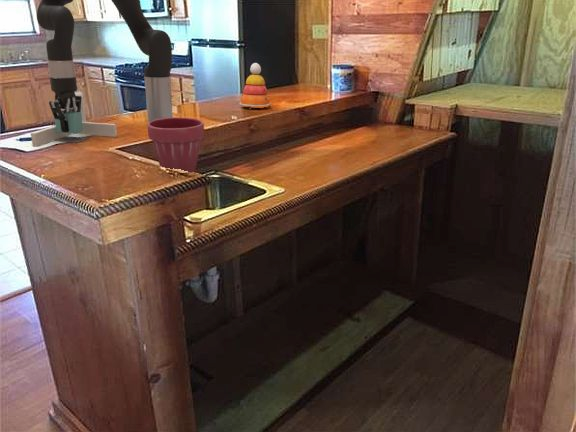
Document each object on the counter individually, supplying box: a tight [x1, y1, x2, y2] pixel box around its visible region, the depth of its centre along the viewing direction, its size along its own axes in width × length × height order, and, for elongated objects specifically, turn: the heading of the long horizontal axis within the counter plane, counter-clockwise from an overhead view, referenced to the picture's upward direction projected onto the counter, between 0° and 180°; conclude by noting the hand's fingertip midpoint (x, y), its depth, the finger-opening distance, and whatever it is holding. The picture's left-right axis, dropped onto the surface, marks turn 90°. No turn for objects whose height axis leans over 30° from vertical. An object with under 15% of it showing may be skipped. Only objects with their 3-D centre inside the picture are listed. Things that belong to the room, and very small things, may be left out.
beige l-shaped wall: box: [30, 121, 118, 147], centre depth 160 cm, size 20×17×4 cm
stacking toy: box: [239, 62, 272, 107], centre depth 224 cm, size 14×14×20 cm
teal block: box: [53, 111, 83, 133], centre depth 160 cm, size 7×4×6 cm, turn 79°
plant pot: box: [147, 116, 205, 173], centre depth 132 cm, size 14×14×13 cm
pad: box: [53, 135, 90, 144], centre depth 162 cm, size 6×8×1 cm
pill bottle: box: [61, 83, 87, 122], centre depth 178 cm, size 8×8×15 cm
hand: (69, 130), depth 161 cm, fingers closed on teal block, 4 cm apart
